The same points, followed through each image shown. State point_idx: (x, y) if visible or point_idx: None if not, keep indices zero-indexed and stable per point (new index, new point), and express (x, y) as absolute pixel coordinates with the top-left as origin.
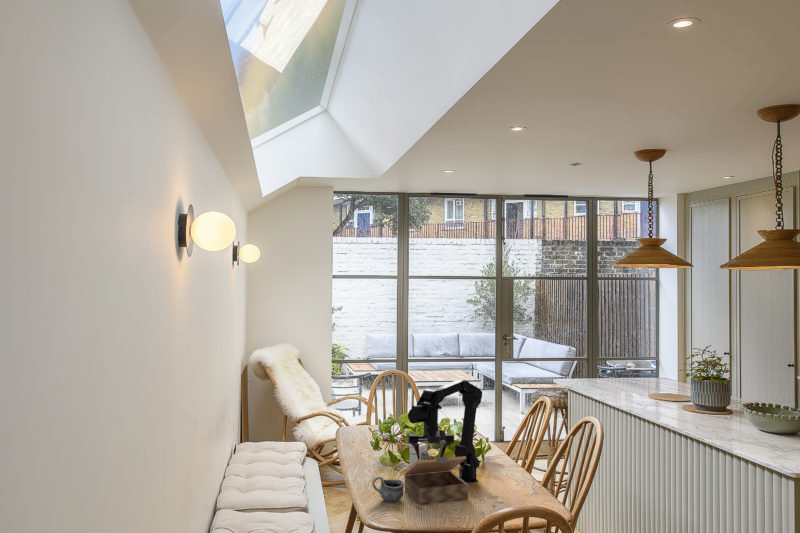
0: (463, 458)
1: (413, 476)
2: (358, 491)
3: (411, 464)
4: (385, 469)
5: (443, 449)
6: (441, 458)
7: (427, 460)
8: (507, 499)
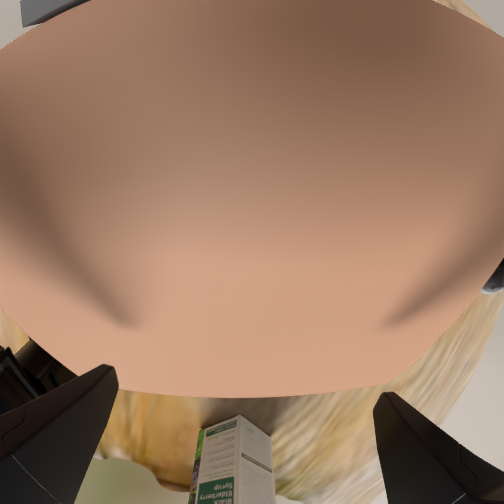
0: None
1: None
2: (485, 336)
3: (268, 476)
4: (313, 483)
5: (13, 432)
6: None
7: (477, 26)
8: None
